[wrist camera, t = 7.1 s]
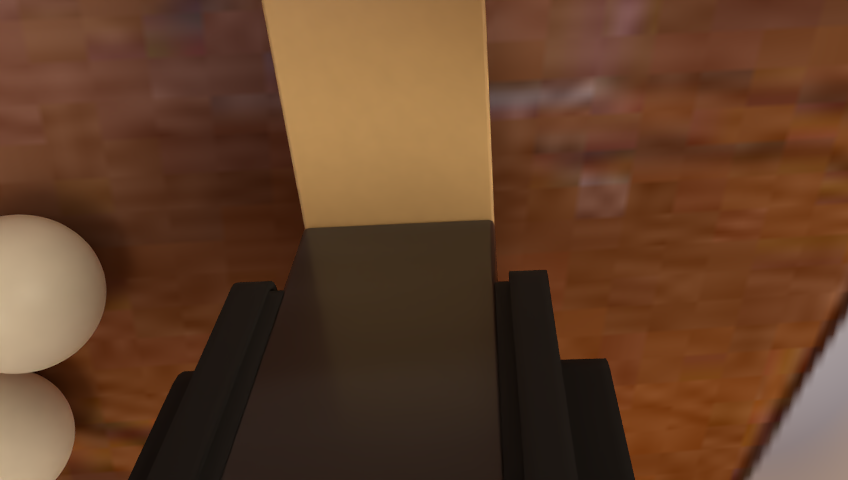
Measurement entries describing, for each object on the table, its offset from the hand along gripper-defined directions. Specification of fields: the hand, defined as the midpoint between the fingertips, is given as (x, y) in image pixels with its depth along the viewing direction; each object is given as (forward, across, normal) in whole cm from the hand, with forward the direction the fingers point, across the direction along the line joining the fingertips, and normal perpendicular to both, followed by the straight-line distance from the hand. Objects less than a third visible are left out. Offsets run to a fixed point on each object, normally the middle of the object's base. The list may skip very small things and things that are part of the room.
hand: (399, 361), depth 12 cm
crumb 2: (+4, +10, +5) cm, 12 cm away
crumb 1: (+4, +8, +1) cm, 9 cm away
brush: (+5, 0, 0) cm, 5 cm away
